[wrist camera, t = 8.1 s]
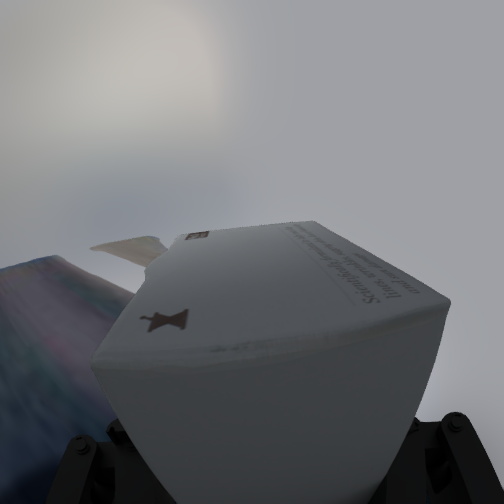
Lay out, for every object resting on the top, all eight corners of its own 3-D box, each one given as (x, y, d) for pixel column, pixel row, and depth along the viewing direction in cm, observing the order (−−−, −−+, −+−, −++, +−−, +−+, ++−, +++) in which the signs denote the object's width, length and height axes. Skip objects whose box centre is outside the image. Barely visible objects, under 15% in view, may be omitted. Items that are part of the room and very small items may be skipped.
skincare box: (338, 542, 8) (489, 307, 3) (222, 558, 7) (62, 362, 3) (307, 439, 16) (324, 212, 11) (217, 450, 15) (171, 223, 11)
